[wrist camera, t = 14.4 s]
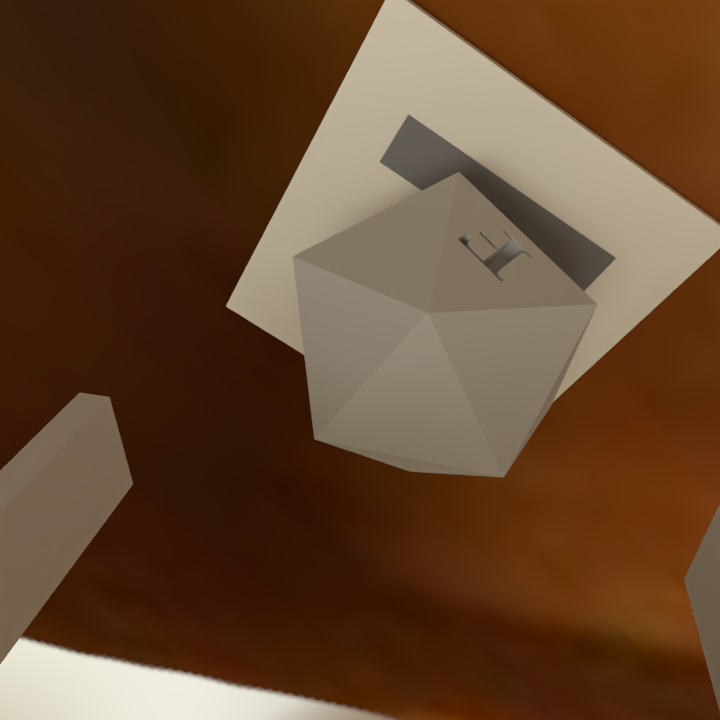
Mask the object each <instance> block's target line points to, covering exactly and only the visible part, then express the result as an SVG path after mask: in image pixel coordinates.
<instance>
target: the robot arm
mask: <svg viewBox="0 0 720 720" xmlns="http://www.w3.org/2000/svg"><path fill="white" fill-rule="evenodd" d="M132 485H133V482H132V478H131V475H130V471H129V467H128V463H127V460H126V456H125V452H124V449H123V445H122V441H121V438H120V434H119V430H118V426H117V423H116V419H115V415H114V412H113V408H112V404H111V401H110V397H106V396H99V395H92V394H86V393H79V394H78V395H77V396H76V397H75V398H74V399H73V400H72V401H71V402H70V403H69V404H68V405H67V406H65V407H64V408H63V409H62V410H61V411H60V412H59V413H58V414H57V415H56V416H55V417H54V418H53V419H52V420H51V421H50V422H49V423H48V424H47V425H46V426H45V427H44V428H43V429H42V430H41V431H40V432H39V433H38V434H37V435H36V436H35V437H34V438H33V439H32V440H31V441H30V442H29V443H28V444H27V445H26V446H25V447H24V448H23V449H22V450H21V451H20V452H19V453H18V454H17V455H16V456H15V457H14V458H13V459H12V460H11V461H10V462H8V463H7V464H6V465H5V466H4V467H3V468H2V469H1V470H0V664H1V662H2V661H3V660H4V658H5V657H6V656H7V654H8V653H9V651H10V650H11V649H12V647H13V646H14V645H15V643H16V642H17V641H18V639H19V638H20V637H21V635H22V634H23V633H24V631H25V630H26V628H27V627H28V626H29V624H30V623H31V622H32V620H33V619H34V618H35V616H36V615H37V614H38V612H39V611H40V609H41V608H42V607H43V605H44V604H45V603H46V601H47V600H48V599H49V597H50V596H51V595H52V593H53V592H54V591H55V589H56V588H57V586H58V585H59V584H60V582H61V581H62V580H63V578H64V577H65V576H66V574H67V573H68V572H69V570H70V569H71V567H72V566H73V565H74V563H75V562H76V561H77V559H78V558H79V557H80V555H81V554H82V553H83V551H84V550H85V548H86V547H87V546H88V544H89V543H90V542H91V540H92V539H93V538H94V536H95V535H96V534H97V532H98V531H99V529H100V528H101V527H102V525H103V524H104V523H105V521H106V520H107V519H108V517H109V516H110V515H111V513H112V512H113V510H114V509H115V508H116V506H117V505H118V504H119V502H120V501H121V500H122V498H123V497H124V496H125V494H126V493H127V491H128V490H129V489H130V487H131V486H132ZM684 581H685V584H686V588H687V592H688V595H689V599H690V603H691V607H692V610H693V614H694V618H695V621H696V625H697V629H698V633H699V636H700V640H701V644H702V647H703V651H704V655H705V659H706V662H707V666H708V670H709V673H710V677H711V681H712V685H713V688H714V692H715V696H716V699H717V703H718V707H719V710H720V504H719V506H718V508H717V511H716V513H715V515H714V517H713V519H712V521H711V523H710V525H709V528H708V530H707V532H706V534H705V536H704V538H703V540H702V543H701V545H700V547H699V549H698V551H697V553H696V555H695V557H694V560H693V562H692V564H691V566H690V568H689V570H688V572H687V574H686V577H685V579H684Z"/></svg>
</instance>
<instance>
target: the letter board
mask: <svg viewBox="0 0 720 720" xmlns="http://www.w3.org/2000/svg"><path fill="white" fill-rule="evenodd" d="M458 172H460V173H461V174H462V175H463V176H464V177H465V178H466V179H467V180H468V181H469V182H470V183H471V184H472V185H473V186H474V187H475V188H476V189H477V190H479V191H480V192H481V193H482V194H483V195H484V196H485V197H486V198H487V199H488V200H489V201H490V202H491V203H492V204H493V205H494V206H495V207H496V208H497V209H498V210H499V211H500V212H502V213H503V214H504V215H505V216H506V217H507V218H508V219H509V220H510V221H511V222H512V223H513V224H514V225H515V226H516V227H517V228H518V229H519V230H520V231H521V232H522V233H523V234H525V235H526V236H527V237H528V238H529V239H530V240H531V241H532V242H533V243H534V244H535V245H536V246H537V247H538V248H539V249H540V250H541V251H542V252H543V253H544V254H545V255H546V256H548V257H549V258H550V259H551V260H552V261H553V262H554V263H555V264H556V265H557V266H558V267H559V268H560V269H561V270H562V271H563V272H564V273H565V274H566V275H567V276H568V277H569V278H571V279H572V280H573V281H574V282H575V283H576V284H577V285H578V286H579V287H580V288H581V289H582V290H583V291H584V292H585V293H586V294H587V295H588V296H589V297H590V298H591V299H592V300H594V301H595V302H596V303H597V306H596V308H595V311H594V313H593V315H592V317H591V319H590V322H589V324H588V326H587V328H586V330H585V332H584V335H583V337H582V339H581V341H580V343H579V346H578V348H577V350H576V352H575V354H574V357H573V359H572V361H571V363H570V365H569V368H568V370H567V372H566V374H565V376H564V378H563V381H562V383H561V385H560V387H559V389H558V392H557V394H556V396H555V398H554V400H553V402H554V401H555V400H556V399H557V398H558V397H559V396H560V395H561V394H562V393H563V392H564V391H566V390H567V389H568V388H569V387H570V386H571V385H572V384H573V383H574V382H575V381H576V380H577V379H579V378H580V377H581V376H582V375H583V374H584V373H585V372H586V371H587V370H588V369H589V368H590V367H592V366H593V365H594V364H595V363H596V362H597V361H598V360H599V359H600V358H601V357H602V356H603V355H605V354H606V353H607V352H608V351H609V350H610V349H611V348H612V347H613V346H614V345H615V344H616V343H618V342H619V341H620V340H621V339H622V338H623V337H624V336H625V335H626V334H627V333H628V332H629V331H631V330H632V329H633V328H634V327H635V326H636V325H637V324H638V323H639V322H640V321H641V320H642V319H644V318H645V317H646V316H647V315H648V314H649V313H650V312H651V311H652V310H653V309H654V308H656V307H657V306H658V305H659V304H660V303H661V302H662V301H663V300H664V299H665V298H666V297H667V296H669V295H670V294H671V293H672V292H673V291H674V290H675V289H676V288H677V287H678V286H679V285H680V284H682V283H683V282H684V281H685V280H686V279H687V278H688V277H689V276H690V275H691V274H692V273H693V272H695V271H696V270H697V269H698V268H699V267H700V266H701V265H702V264H703V263H704V262H705V261H706V260H708V259H709V258H710V257H711V256H712V255H713V254H714V253H715V252H716V251H717V250H718V249H719V248H720V223H719V222H718V221H717V220H715V219H714V218H712V217H711V216H710V215H708V214H707V213H705V212H704V211H703V210H701V209H700V208H699V207H697V206H696V205H694V204H693V203H692V202H690V201H689V200H687V199H686V198H685V197H683V196H682V195H680V194H679V193H678V192H676V191H675V190H674V189H672V188H671V187H669V186H668V185H667V184H665V183H664V182H662V181H661V180H660V179H658V178H657V177H655V176H654V175H653V174H651V173H650V172H648V171H647V170H646V169H644V168H643V167H642V166H640V165H639V164H637V163H636V162H635V161H633V160H632V159H630V158H629V157H628V156H626V155H625V154H623V153H622V152H621V151H619V150H618V149H617V148H615V147H614V146H612V145H611V144H610V143H608V142H607V141H605V140H604V139H603V138H601V137H600V136H598V135H597V134H596V133H594V132H593V131H592V130H590V129H589V128H587V127H586V126H585V125H583V124H582V123H580V122H579V121H578V120H576V119H575V118H573V117H572V116H571V115H569V114H568V113H567V112H565V111H564V110H562V109H561V108H560V107H558V106H557V105H555V104H554V103H553V102H551V101H550V100H548V99H547V98H546V97H544V96H543V95H542V94H540V93H539V92H537V91H536V90H535V89H533V88H532V87H530V86H529V85H528V84H526V83H525V82H523V81H522V80H521V79H519V78H518V77H517V76H515V75H514V74H512V73H511V72H510V71H508V70H507V69H505V68H504V67H503V66H501V65H500V64H498V63H497V62H496V61H494V60H493V59H492V58H490V57H489V56H487V55H486V54H485V53H483V52H482V51H480V50H479V49H478V48H476V47H475V46H473V45H472V44H471V43H469V42H468V41H467V40H465V39H464V38H462V37H461V36H460V35H458V34H457V33H455V32H454V31H453V30H451V29H450V28H448V27H447V26H446V25H444V24H443V23H442V22H440V21H439V20H437V19H436V18H435V17H433V16H432V15H430V14H429V13H428V12H426V11H425V10H423V9H422V8H421V7H419V6H418V5H417V4H415V3H414V2H412V1H411V0H385V2H384V4H383V6H382V8H381V9H380V11H379V13H378V15H377V17H376V19H375V21H374V23H373V25H372V27H371V29H370V31H369V33H368V34H367V36H366V38H365V40H364V42H363V44H362V46H361V48H360V50H359V52H358V54H357V56H356V57H355V59H354V61H353V63H352V65H351V67H350V69H349V71H348V73H347V75H346V77H345V79H344V80H343V82H342V84H341V86H340V88H339V90H338V92H337V94H336V96H335V98H334V100H333V102H332V103H331V105H330V107H329V109H328V111H327V113H326V115H325V117H324V119H323V121H322V123H321V125H320V126H319V128H318V130H317V132H316V134H315V136H314V138H313V140H312V142H311V144H310V146H309V148H308V150H307V151H306V153H305V155H304V157H303V159H302V161H301V163H300V165H299V167H298V169H297V171H296V173H295V174H294V176H293V178H292V180H291V182H290V184H289V186H288V188H287V190H286V192H285V194H284V196H283V197H282V199H281V201H280V203H279V205H278V207H277V209H276V211H275V213H274V215H273V217H272V219H271V220H270V222H269V224H268V226H267V228H266V230H265V232H264V234H263V236H262V238H261V240H260V242H259V243H258V245H257V247H256V249H255V251H254V253H253V255H252V257H251V259H250V261H249V263H248V265H247V267H246V268H245V270H244V272H243V274H242V276H241V278H240V280H239V282H238V284H237V286H236V288H235V290H234V291H233V293H232V295H231V297H230V299H229V301H228V303H227V305H226V307H228V308H229V309H231V310H233V311H234V312H236V313H237V314H239V315H241V316H242V317H244V318H245V319H247V320H249V321H250V322H252V323H254V324H255V325H257V326H258V327H260V328H262V329H263V330H265V331H266V332H268V333H270V334H271V335H273V336H274V337H276V338H278V339H279V340H281V341H283V342H284V343H286V344H287V345H289V346H291V347H292V348H294V349H295V350H297V351H299V352H300V353H302V354H304V348H303V340H302V331H301V323H300V314H299V306H298V297H297V289H296V281H295V272H294V264H293V256H294V255H296V254H298V253H300V252H302V251H304V250H306V249H308V248H310V247H312V246H314V245H316V244H318V243H320V242H322V241H324V240H326V239H328V238H330V237H332V236H334V235H336V234H338V233H340V232H342V231H344V230H346V229H347V228H349V227H351V226H353V225H355V224H357V223H359V222H361V221H363V220H365V219H367V218H369V217H371V216H373V215H375V214H377V213H379V212H381V211H383V210H385V209H387V208H389V207H391V206H393V205H395V204H397V203H399V202H401V201H403V200H405V199H407V198H408V197H410V196H412V195H414V194H416V193H418V192H420V191H422V190H424V189H426V188H428V187H430V186H432V185H434V184H436V183H438V182H440V181H442V180H444V179H446V178H448V177H450V176H452V175H454V174H456V173H458Z"/></svg>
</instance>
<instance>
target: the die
mask: <svg viewBox="0 0 720 720" xmlns="http://www.w3.org/2000/svg"><path fill="white" fill-rule="evenodd" d="M293 264H294V272H295V281H296V289H297V297H298V306H299V314H300V323H301V331H302V340H303V348H304V356H305V365H306V373H307V382H308V390H309V399H310V407H311V416H312V424H313V432H314V439H315V440H318V441H321V442H324V443H327V444H330V445H333V446H336V447H339V448H342V449H345V450H348V451H351V452H354V453H357V454H360V455H363V456H366V457H369V458H372V459H374V460H377V461H380V462H383V463H386V464H389V465H392V466H395V467H398V468H401V469H404V470H407V471H410V472H425V473H441V474H458V475H474V476H490V477H504V476H505V475H506V473H507V472H508V470H509V469H510V467H511V466H512V464H513V463H514V461H515V460H516V458H517V457H518V455H519V454H520V452H521V451H522V449H523V448H524V446H525V445H526V443H527V442H528V440H529V439H530V437H531V435H532V434H533V432H534V431H535V429H536V428H537V426H538V425H539V423H540V422H541V420H542V419H543V417H544V416H545V414H546V413H547V411H548V410H549V408H550V407H551V405H552V403H553V400H554V398H555V396H556V394H557V392H558V389H559V387H560V385H561V383H562V381H563V378H564V376H565V374H566V372H567V370H568V368H569V365H570V363H571V361H572V359H573V357H574V354H575V352H576V350H577V348H578V346H579V343H580V341H581V339H582V337H583V335H584V332H585V330H586V328H587V326H588V324H589V322H590V319H591V317H592V315H593V313H594V311H595V308H596V306H597V303H596V302H595V301H594V300H592V299H591V298H590V297H589V296H588V295H587V294H586V293H585V292H584V291H583V290H582V289H581V288H580V287H579V286H578V285H577V284H576V283H575V282H574V281H573V280H572V279H571V278H569V277H568V276H567V275H566V274H565V273H564V272H563V271H562V270H561V269H560V268H559V267H558V266H557V265H556V264H555V263H554V262H553V261H552V260H551V259H550V258H549V257H548V256H546V255H545V254H544V253H543V252H542V251H541V250H540V249H539V248H538V247H537V246H536V245H535V244H534V243H533V242H532V241H531V240H530V239H529V238H528V237H527V236H526V235H525V234H523V233H522V232H521V231H520V230H519V229H518V228H517V227H516V226H515V225H514V224H513V223H512V222H511V221H510V220H509V219H508V218H507V217H506V216H505V215H504V214H503V213H502V212H500V211H499V210H498V209H497V208H496V207H495V206H494V205H493V204H492V203H491V202H490V201H489V200H488V199H487V198H486V197H485V196H484V195H483V194H482V193H481V192H480V191H479V190H477V189H476V188H475V187H474V186H473V185H472V184H471V183H470V182H469V181H468V180H467V179H466V178H465V177H464V176H463V175H462V174H461V173H460V172H458V173H456V174H454V175H452V176H450V177H448V178H446V179H444V180H442V181H440V182H438V183H436V184H434V185H432V186H430V187H428V188H426V189H424V190H422V191H420V192H418V193H416V194H414V195H412V196H410V197H408V198H407V199H405V200H403V201H401V202H399V203H397V204H395V205H393V206H391V207H389V208H387V209H385V210H383V211H381V212H379V213H377V214H375V215H373V216H371V217H369V218H367V219H365V220H363V221H361V222H359V223H357V224H355V225H353V226H351V227H349V228H347V229H346V230H344V231H342V232H340V233H338V234H336V235H334V236H332V237H330V238H328V239H326V240H324V241H322V242H320V243H318V244H316V245H314V246H312V247H310V248H308V249H306V250H304V251H302V252H300V253H298V254H296V255H294V256H293Z"/></svg>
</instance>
